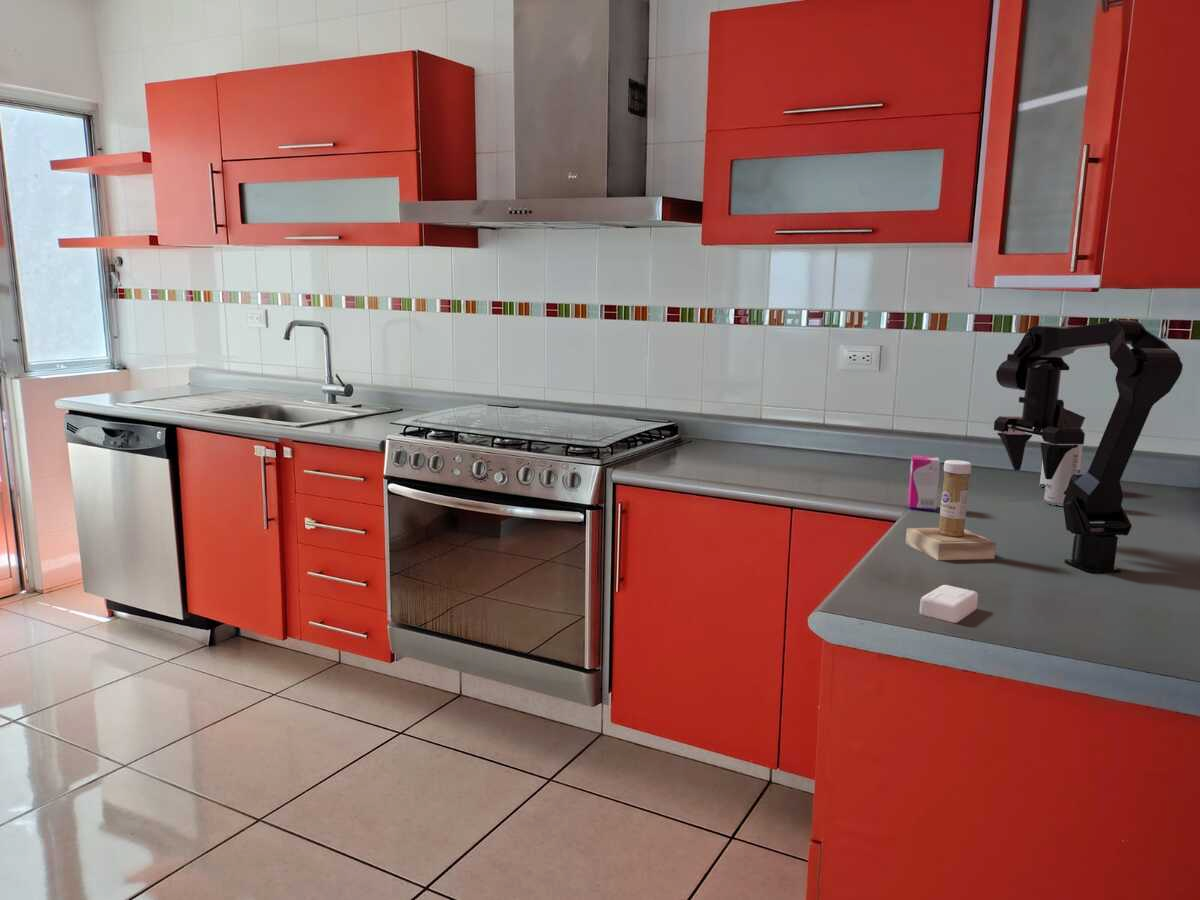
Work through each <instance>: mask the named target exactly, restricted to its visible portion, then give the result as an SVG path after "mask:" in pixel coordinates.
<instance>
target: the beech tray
mask: <svg viewBox="0 0 1200 900" xmlns="http://www.w3.org/2000/svg"><path fill="white" fill-rule="evenodd" d="M938 529H939V527H906V533H905V543H904V544H905V545H907V546H908V547H911V548H913V549H915V550H917V551H918V552H921V553H923V554H925V555H927V556H928V557H931V558H932V557H933V559H935V560H936V561H957V560H958V561H959V560H961V561H962V560H994V559H995V555H996V548H997V547H996V546H997V545H996V544H997V542H996V541H994V540H991V539H988V538H986V537H984V536H981V535H979V534H977V533H974V532H972V531H969V530H967V529H965V528H964V535H963V536H958V537H952V536H946V535H942V534H940V533H939V532H938Z"/></svg>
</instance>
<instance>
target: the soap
mask: <svg viewBox="0 0 1200 900" xmlns="http://www.w3.org/2000/svg"><path fill="white" fill-rule="evenodd" d="M978 599H979V595H978V593H977V591H975V590H970V589H966V588H962V587H957V586H952V585H949V584H942V585H940V586H939V587H937V588H935V589H933V590H931V591H930V592H928V593H927V594H924V595H923V596H922V597H921V598H920V602H919V614H920V615H921V616H925V617H929V618H932V619H936V620H941V621H945V622H949V623H953V624H957V623H958V622H961V621H962V620H963V619H964V618H966V617H967V616H969V615H970V614H972V613H973V612H975V611H976V610H977V608H978Z"/></svg>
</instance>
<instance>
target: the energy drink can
mask: <svg viewBox="0 0 1200 900" xmlns="http://www.w3.org/2000/svg"><path fill="white" fill-rule="evenodd" d="M1078 456H1079V448H1078V447H1077V448H1072V449H1071V450H1070V451H1068V452H1067V453H1066V454H1065V456H1064V457H1063V459H1062V461H1061V462H1060V464H1059V466H1058V468H1057V470H1056V472H1055V474H1054V476H1053V478H1052V479H1046V487H1045V488H1044V498H1043V499H1044V501H1045V502H1046V501H1047V502H1050V503H1055V504H1063V502H1064V498H1065V496H1066V495H1064V494H1063V493H1064V492H1065V491H1066V489H1067V487H1068V485H1069V481H1070V478H1071V477H1072V475H1073V474H1076V473H1077V464H1078Z"/></svg>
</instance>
